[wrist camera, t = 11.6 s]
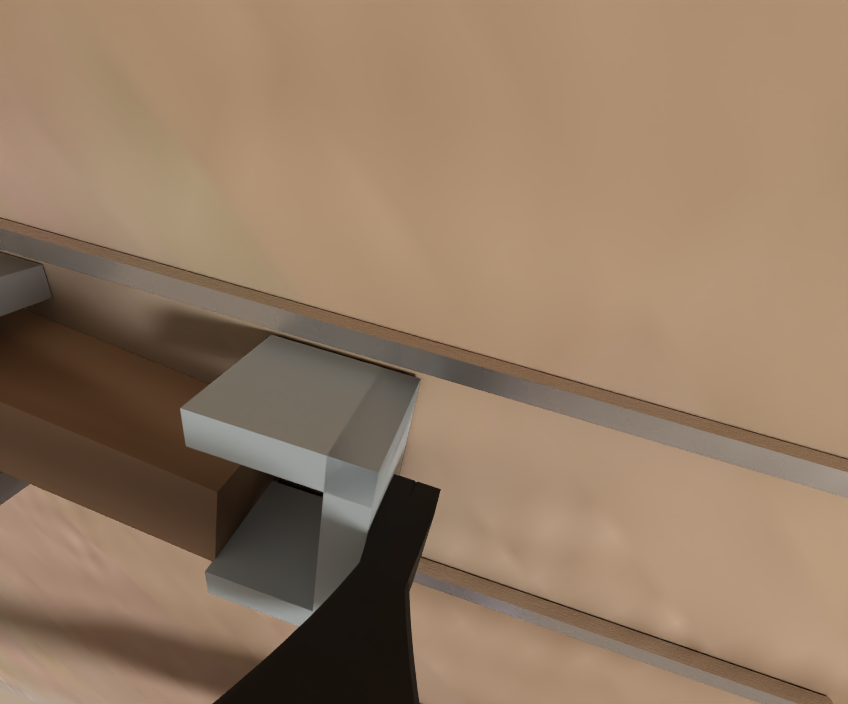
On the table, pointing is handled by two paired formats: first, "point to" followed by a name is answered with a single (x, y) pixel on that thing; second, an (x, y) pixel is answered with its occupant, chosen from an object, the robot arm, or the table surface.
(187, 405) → the cap
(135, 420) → the brown bar
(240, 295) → the track
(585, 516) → the table surface
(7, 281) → the grey c-shaped bracket
